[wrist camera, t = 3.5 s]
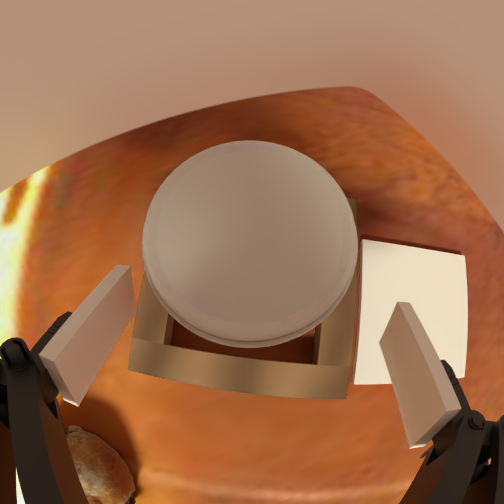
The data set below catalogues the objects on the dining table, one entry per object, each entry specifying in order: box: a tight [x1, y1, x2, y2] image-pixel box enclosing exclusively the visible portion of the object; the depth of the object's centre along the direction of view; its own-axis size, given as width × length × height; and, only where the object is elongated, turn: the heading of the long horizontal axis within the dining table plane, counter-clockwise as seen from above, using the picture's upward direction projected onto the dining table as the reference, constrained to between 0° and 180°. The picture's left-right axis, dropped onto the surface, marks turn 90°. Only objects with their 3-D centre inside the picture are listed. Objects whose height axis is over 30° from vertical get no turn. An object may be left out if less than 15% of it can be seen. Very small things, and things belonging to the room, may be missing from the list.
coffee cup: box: [142, 140, 358, 348], centre depth 17 cm, size 9×9×12 cm
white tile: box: [351, 239, 468, 384], centre depth 22 cm, size 12×12×1 cm
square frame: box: [128, 197, 357, 399], centre depth 22 cm, size 16×16×2 cm
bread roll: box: [65, 425, 136, 504], centre depth 15 cm, size 10×10×8 cm
